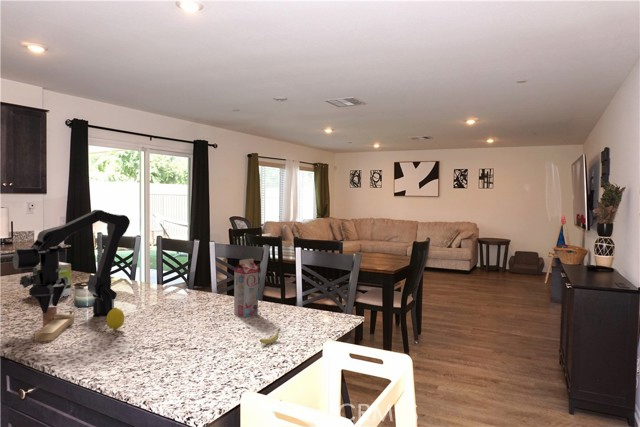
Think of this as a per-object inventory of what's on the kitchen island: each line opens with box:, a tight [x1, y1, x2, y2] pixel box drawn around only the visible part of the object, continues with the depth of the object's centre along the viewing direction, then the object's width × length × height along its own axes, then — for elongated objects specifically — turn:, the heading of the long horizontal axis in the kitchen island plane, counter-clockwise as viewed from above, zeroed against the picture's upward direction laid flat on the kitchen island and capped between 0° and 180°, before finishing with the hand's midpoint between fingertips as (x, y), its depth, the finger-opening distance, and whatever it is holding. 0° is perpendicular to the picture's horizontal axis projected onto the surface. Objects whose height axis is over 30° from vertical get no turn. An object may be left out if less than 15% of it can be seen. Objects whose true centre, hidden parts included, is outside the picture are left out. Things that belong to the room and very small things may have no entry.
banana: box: [259, 327, 281, 345], centre depth 138 cm, size 8×2×4 cm, turn 137°
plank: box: [34, 316, 75, 342], centre depth 145 cm, size 5×20×2 cm, turn 13°
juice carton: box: [233, 258, 259, 318], centre depth 169 cm, size 7×7×22 cm
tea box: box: [32, 261, 72, 298], centre depth 194 cm, size 15×10×15 cm, turn 58°
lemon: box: [106, 307, 125, 331], centre depth 147 cm, size 6×6×8 cm
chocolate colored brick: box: [42, 306, 75, 328], centre depth 152 cm, size 9×4×6 cm, turn 103°
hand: (50, 309), depth 151 cm, fingers open, 9 cm apart
